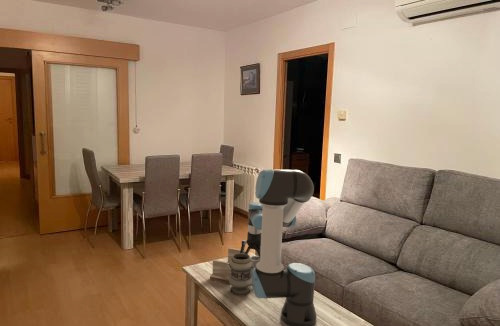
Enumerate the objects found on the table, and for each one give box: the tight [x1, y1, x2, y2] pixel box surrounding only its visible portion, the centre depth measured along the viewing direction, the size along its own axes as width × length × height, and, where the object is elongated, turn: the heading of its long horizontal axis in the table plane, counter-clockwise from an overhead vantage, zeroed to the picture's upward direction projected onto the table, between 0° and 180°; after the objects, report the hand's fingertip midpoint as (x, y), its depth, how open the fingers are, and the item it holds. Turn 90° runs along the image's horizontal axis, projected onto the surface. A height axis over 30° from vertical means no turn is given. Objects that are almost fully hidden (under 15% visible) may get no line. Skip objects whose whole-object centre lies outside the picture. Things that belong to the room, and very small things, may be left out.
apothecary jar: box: [229, 253, 253, 297], centre depth 174 cm, size 12×12×18 cm
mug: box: [250, 255, 260, 276], centre depth 190 cm, size 8×12×12 cm, turn 141°
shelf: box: [209, 247, 246, 285], centre depth 195 cm, size 26×12×10 cm, turn 159°
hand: (252, 272), depth 190 cm, fingers open, 9 cm apart
